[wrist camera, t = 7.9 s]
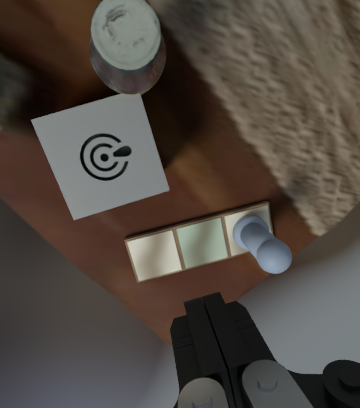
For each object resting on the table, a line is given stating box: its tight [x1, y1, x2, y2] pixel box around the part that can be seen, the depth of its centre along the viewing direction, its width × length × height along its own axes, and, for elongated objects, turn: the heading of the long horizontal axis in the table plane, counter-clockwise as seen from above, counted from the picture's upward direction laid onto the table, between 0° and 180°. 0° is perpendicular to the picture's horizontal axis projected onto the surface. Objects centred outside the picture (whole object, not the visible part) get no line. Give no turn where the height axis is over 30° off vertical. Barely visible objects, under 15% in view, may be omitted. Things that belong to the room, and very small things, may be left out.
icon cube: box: [31, 93, 169, 220], centre depth 33 cm, size 10×10×10 cm
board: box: [124, 201, 273, 283], centre depth 43 cm, size 21×7×1 cm, turn 103°
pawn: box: [233, 215, 292, 273], centre depth 38 cm, size 5×5×10 cm
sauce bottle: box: [89, 0, 166, 95], centre depth 26 cm, size 6×6×20 cm
